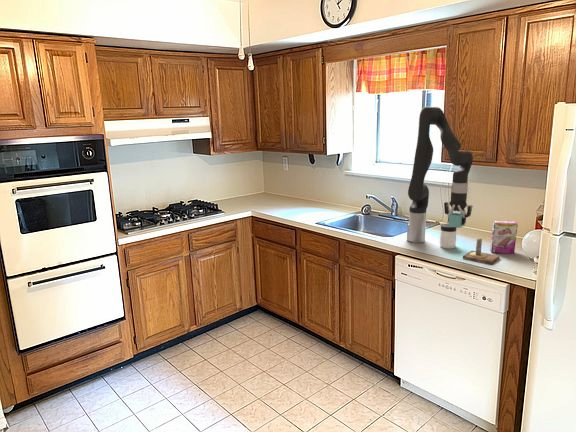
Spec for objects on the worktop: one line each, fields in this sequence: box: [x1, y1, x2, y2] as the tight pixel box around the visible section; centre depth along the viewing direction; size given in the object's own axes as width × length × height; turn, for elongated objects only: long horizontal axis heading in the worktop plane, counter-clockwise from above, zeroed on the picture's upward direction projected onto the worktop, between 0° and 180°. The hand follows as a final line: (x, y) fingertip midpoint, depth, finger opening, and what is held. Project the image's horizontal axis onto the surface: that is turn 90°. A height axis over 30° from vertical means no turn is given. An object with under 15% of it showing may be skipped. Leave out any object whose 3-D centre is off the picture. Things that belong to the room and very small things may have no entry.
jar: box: [439, 223, 458, 250], centre depth 240 cm, size 9×8×12 cm
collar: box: [447, 211, 466, 229], centre depth 223 cm, size 6×6×6 cm
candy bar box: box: [489, 220, 519, 255], centre depth 227 cm, size 11×5×16 cm, turn 75°
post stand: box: [462, 238, 501, 265], centre depth 219 cm, size 14×11×10 cm
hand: (456, 223), depth 224 cm, fingers closed on collar, 6 cm apart
